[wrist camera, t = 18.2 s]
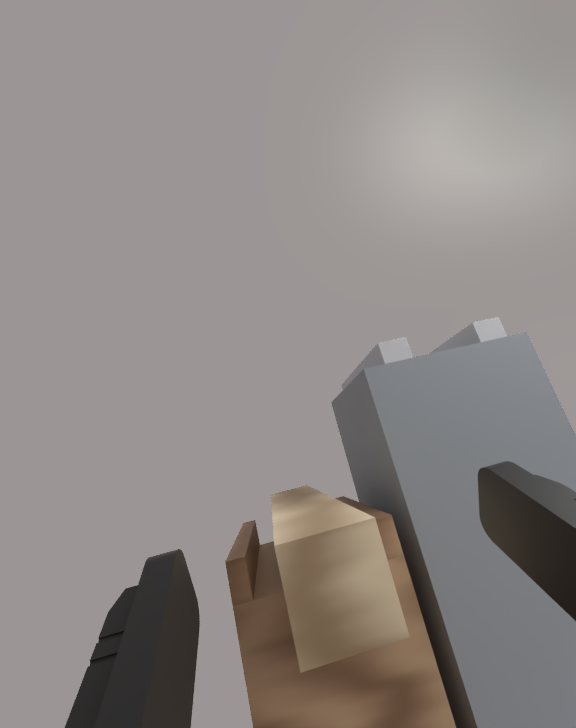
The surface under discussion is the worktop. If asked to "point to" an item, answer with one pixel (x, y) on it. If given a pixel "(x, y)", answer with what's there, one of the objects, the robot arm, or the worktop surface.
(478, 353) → the slot column
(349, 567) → the bar
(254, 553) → the block
